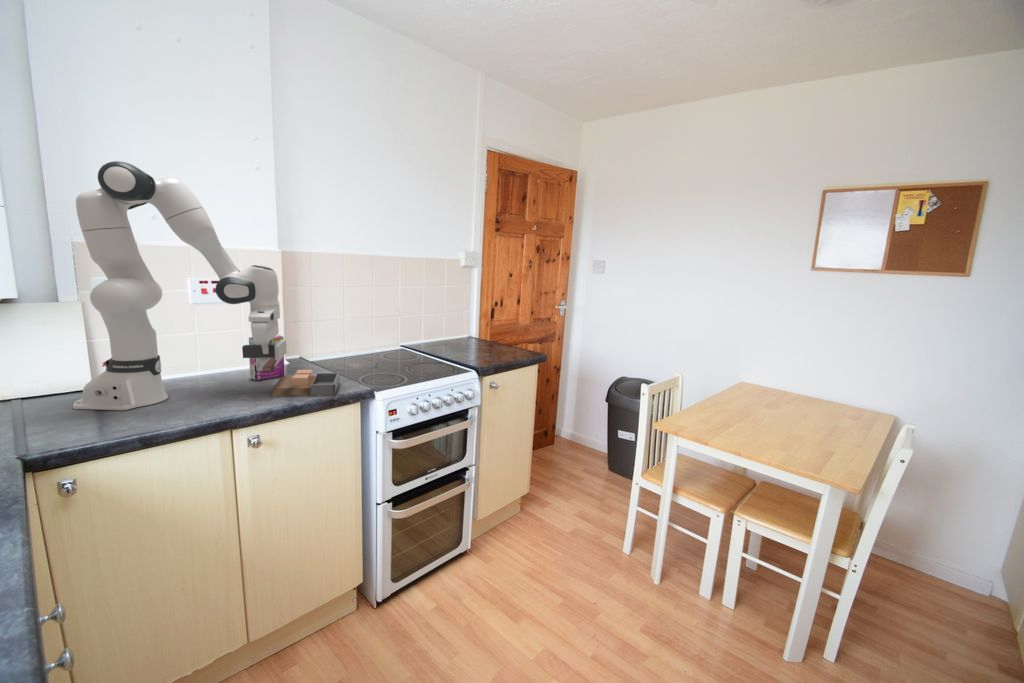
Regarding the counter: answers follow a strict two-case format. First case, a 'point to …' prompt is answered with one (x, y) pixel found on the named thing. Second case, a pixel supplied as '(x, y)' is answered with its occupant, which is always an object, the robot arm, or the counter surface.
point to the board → (292, 387)
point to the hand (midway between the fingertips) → (267, 352)
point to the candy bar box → (266, 364)
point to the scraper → (257, 351)
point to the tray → (325, 384)
